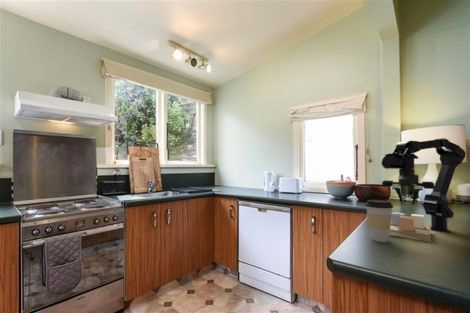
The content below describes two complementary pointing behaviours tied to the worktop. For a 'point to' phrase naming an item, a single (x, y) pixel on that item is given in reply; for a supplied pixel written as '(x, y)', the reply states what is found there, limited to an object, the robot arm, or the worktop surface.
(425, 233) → the panel
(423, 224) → the cream button
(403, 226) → the salmon pink block
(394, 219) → the slate-blue button
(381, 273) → the worktop surface
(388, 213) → the coffee cup
